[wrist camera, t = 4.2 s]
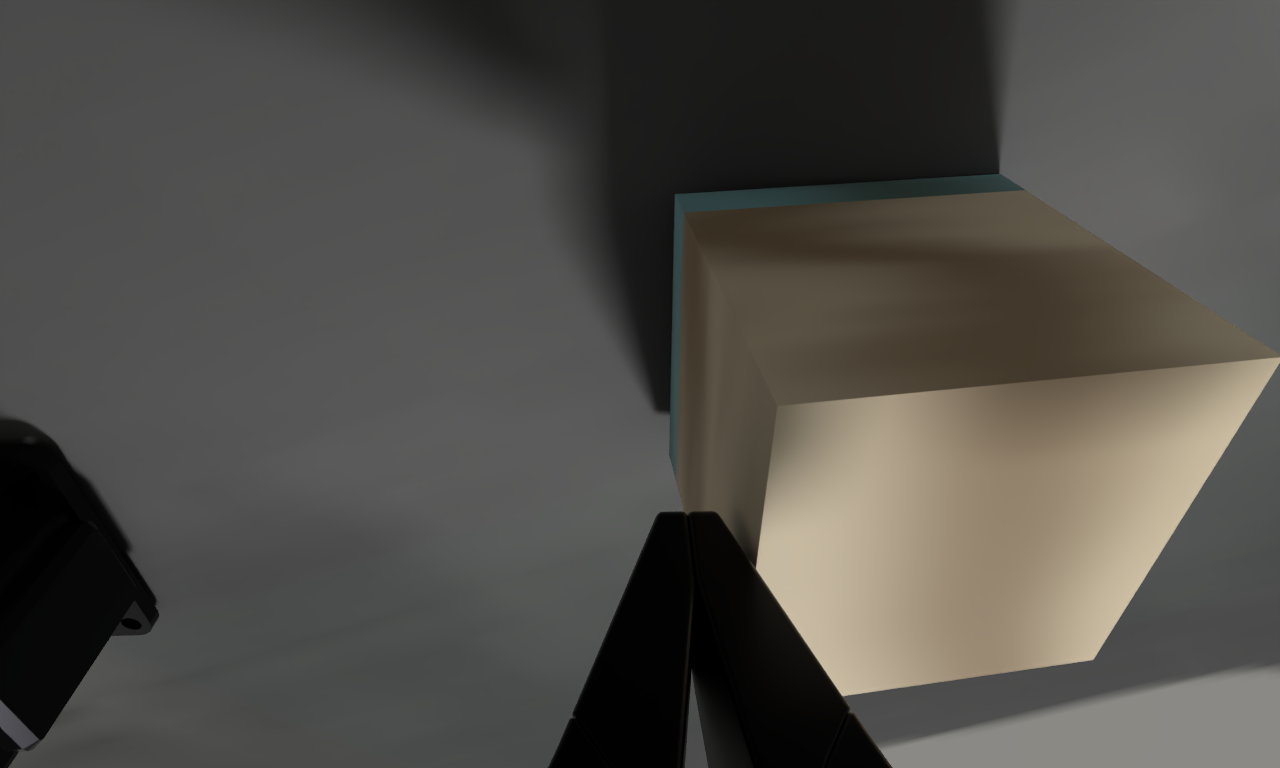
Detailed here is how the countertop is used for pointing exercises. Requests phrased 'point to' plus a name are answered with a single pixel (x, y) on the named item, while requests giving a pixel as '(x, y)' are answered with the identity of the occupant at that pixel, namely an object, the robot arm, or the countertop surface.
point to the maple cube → (940, 417)
